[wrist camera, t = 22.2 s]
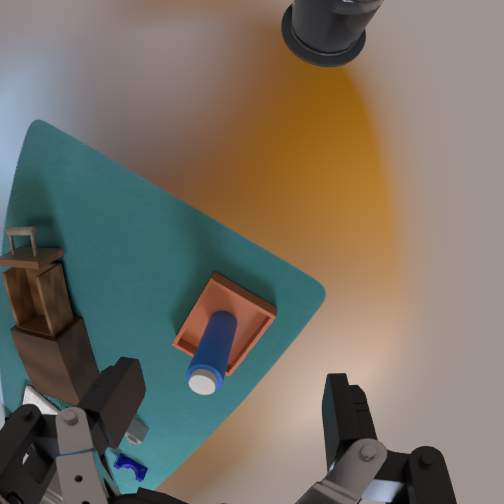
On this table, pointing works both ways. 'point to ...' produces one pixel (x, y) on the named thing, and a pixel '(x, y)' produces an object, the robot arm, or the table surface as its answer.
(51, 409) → the calculator
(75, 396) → the cabinet
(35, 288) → the drawer
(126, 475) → the table surface
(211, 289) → the tray
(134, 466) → the cable holder
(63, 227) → the table surface
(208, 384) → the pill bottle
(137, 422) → the lighter
